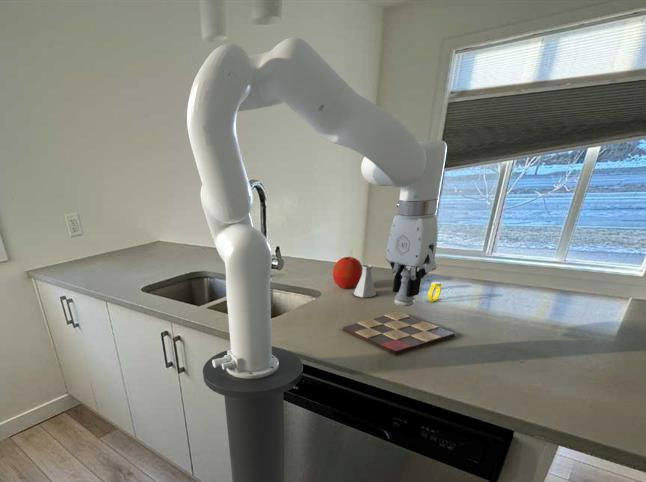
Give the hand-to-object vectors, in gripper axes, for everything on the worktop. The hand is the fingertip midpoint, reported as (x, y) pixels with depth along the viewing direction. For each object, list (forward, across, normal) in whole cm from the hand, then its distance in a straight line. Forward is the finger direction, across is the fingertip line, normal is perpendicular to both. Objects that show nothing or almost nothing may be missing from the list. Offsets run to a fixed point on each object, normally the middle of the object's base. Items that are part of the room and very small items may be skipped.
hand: (405, 292), depth 94 cm
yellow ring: (+15, -21, +36) cm, 44 cm away
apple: (+15, -50, +24) cm, 58 cm away
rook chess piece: (+3, 0, 0) cm, 3 cm away
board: (+15, -8, +8) cm, 19 cm away
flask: (+15, -39, +24) cm, 48 cm away
